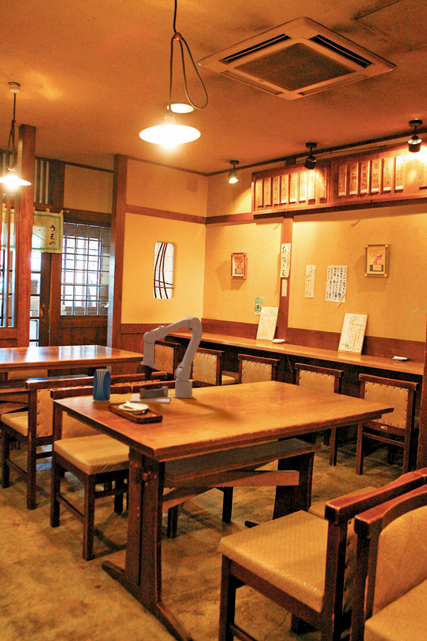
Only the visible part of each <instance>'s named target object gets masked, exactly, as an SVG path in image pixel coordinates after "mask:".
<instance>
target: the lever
mask: <svg viewBox="0 0 427 641" xmlns="http://www.w3.org/2000/svg"><path fill="white" fill-rule="evenodd" d="M139 394H140V398H142V399H143V398H152V397H161V396H168V395H169V387H168V386H166V385H165V386H161V388H157V389H156V388H154V389H146V388H139Z"/></svg>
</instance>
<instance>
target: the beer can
mask: <svg viewBox="0 0 427 641" xmlns="http://www.w3.org/2000/svg"><path fill="white" fill-rule="evenodd" d="M111 384H112V374H111V372H110V369H107V368H97V369H95V372H94V373H93V387H92V389H93V390H92V400H93V402H94V403H96V402H97V404H105V402H106V403H108V402H110V400H111V387H112V386H111Z"/></svg>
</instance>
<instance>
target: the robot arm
mask: <svg viewBox="0 0 427 641" xmlns="http://www.w3.org/2000/svg"><path fill="white" fill-rule="evenodd" d="M202 326H203V324H202V322H201V319H199V318H198V317H193V316H188V317H185V318H181V319H180V320H177V321H176V322H173V323H172V324H169V325H168V326H165V325H158V327H157V328H155V329H151V330H150V331H147V332H144V334H143V335H142V340H143V355H142V356H143V357H142V358H143V359H142V361H140V365H141V369H142V370H143V374H144V379H145V380H146V381H150V380H152V379H151V378H152V376H153V372H154V371H155V369H156V368H157V364H156V362H155V342H156V341H158V340H160V339H163V338H164V337H167V336H168V335H169V333H170V332H172V331H176V330H178V329H180V328H188V330H190V333H191V334H192V335H191V338H190V341H189V343H188V346H187V348H186V351H185V353H184V356H183V358H182V361H181V362H180V364H179V366H177V368H176V369H175V371H174V375H175V377H176V378H175V381H174V382H175V383H174V384H175V386H174V387H175V389H174V394H173V398H181V399H192V398H193V397H192V396H193V380H190V378H191V371H192V370H191V369H192V363H193V361H194V358H195V356H196V353H197V350H198V349H199V345H200V343H201V341H202V338H203V327H202Z"/></svg>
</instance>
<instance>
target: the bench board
mask: <svg viewBox="0 0 427 641" xmlns="http://www.w3.org/2000/svg"><path fill="white" fill-rule="evenodd" d="M130 401H131V402H136V403H135V404H138V403H139V404H163V405H164V404H165V405H166V404H167V405H170V402H171V394H168V396H161V397H152V398H143V399H142V398H140V393H133V394H132V395H131V398H129V402H130Z"/></svg>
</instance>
